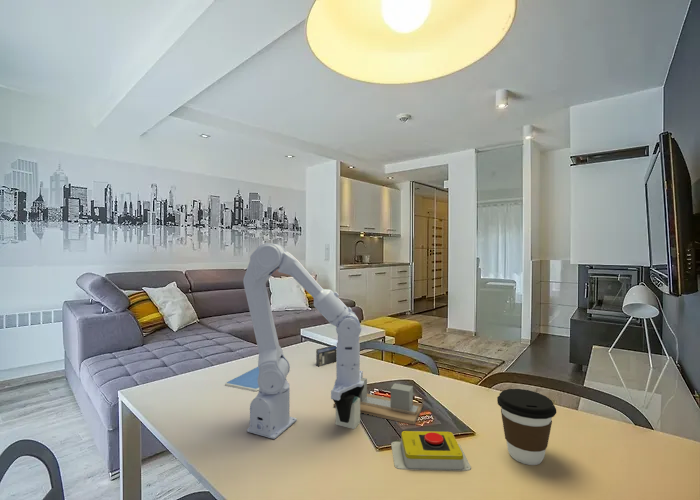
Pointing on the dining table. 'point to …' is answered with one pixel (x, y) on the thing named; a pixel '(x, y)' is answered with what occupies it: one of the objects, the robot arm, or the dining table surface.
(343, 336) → the robot arm
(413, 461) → the emergency button
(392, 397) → the block
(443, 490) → the dining table surface
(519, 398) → the coffee cup
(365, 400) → the rail
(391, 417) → the board
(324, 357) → the mini dv tape
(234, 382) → the tablet computer
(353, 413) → the block
